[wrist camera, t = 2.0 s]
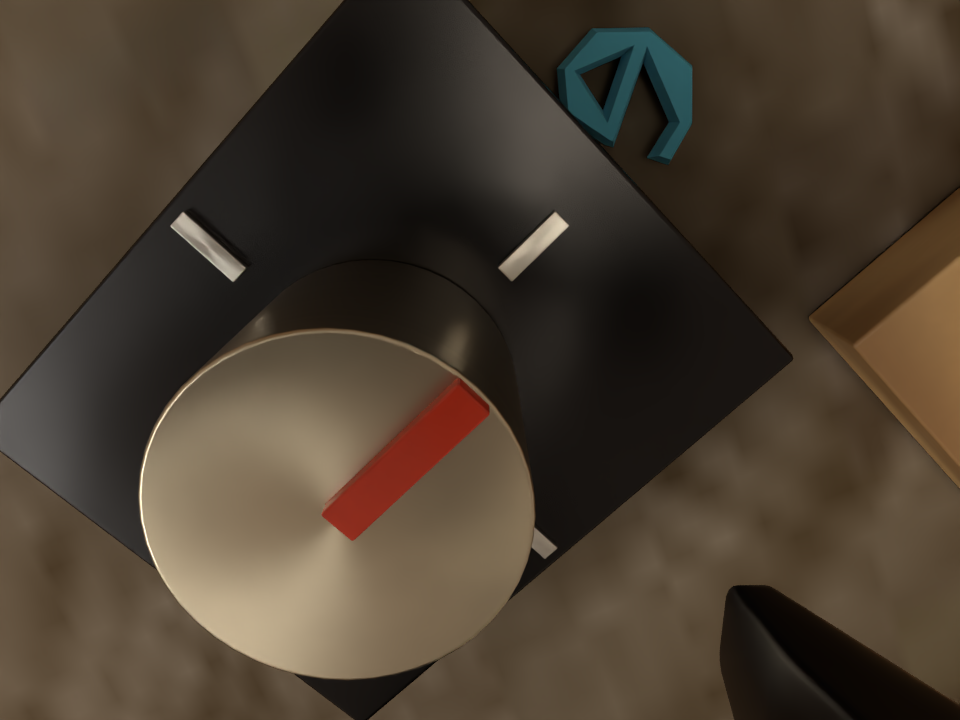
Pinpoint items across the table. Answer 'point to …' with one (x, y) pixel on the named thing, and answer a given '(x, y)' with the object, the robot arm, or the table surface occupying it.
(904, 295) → the button block
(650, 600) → the table surface
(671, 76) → the nameplate
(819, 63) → the table surface
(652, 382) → the dial console
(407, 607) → the knob
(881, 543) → the table surface
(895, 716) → the robot arm
